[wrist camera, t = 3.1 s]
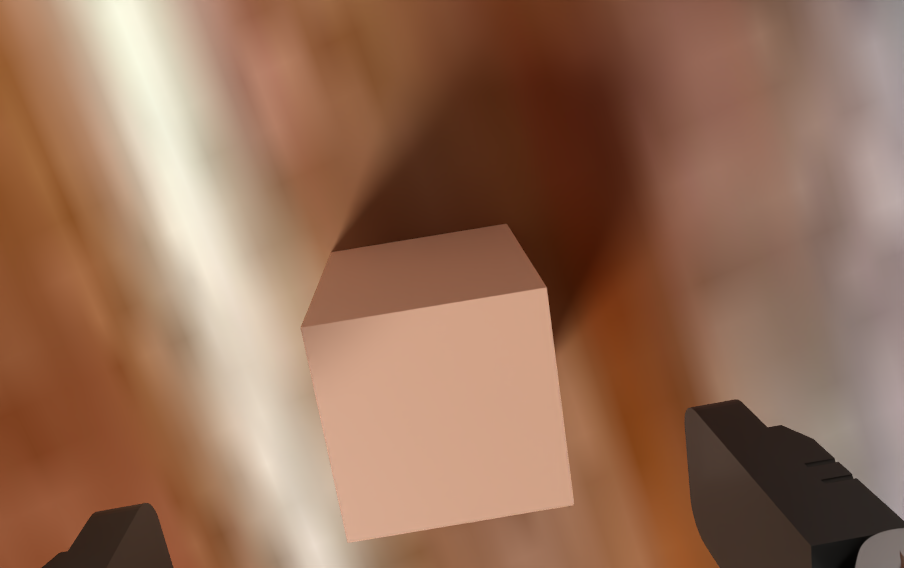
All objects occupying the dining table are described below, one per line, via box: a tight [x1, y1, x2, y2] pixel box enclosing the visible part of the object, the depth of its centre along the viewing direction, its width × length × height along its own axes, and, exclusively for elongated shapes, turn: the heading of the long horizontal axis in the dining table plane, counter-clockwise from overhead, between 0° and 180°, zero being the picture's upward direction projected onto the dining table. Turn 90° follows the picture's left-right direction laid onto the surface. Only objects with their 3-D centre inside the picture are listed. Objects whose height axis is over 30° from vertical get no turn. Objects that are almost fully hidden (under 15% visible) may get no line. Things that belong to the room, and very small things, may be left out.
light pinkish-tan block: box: [301, 224, 574, 543], centre depth 18 cm, size 4×4×6 cm
